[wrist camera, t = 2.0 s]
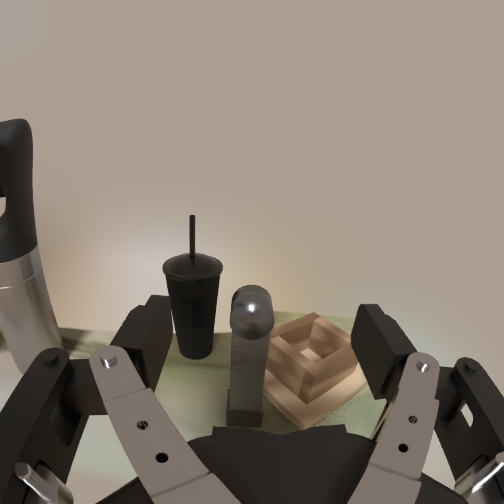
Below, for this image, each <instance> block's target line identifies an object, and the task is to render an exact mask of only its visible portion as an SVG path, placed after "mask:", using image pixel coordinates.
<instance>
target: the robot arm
mask: <svg viewBox="0 0 504 504" xmlns="http://www.w3.org/2000/svg"><path fill="white" fill-rule="evenodd" d="M32 168H33V141H32V132H31V128H30V125H29V124H28V122H27V121H26V120H25V119H13V120H8V121H4V122H0V198H1V197H6V208H5V212H4V213H3V215H2V216H1V217H0V329H1V331H2V334H3V336H4V339H5V341H6V343H7V346H8V348H9V350H10V352H11V355H12V357H13V359H14V361H15V363H16V365H17V367H18V369H19V370H20V371H21V372H22V373H23V374H24V375H23V377H22V378H21V380H20V381H19V383H18V385H17V386H16V388H15V389H14V391H13V392H12V394H11V396H10V397H9V399H8V401H7V402H6V404H5V406H4V407H3V409H2V411H1V412H0V504H73V496H72V493H71V491H70V490H69V488H68V487H67V486H66V481H67V478H68V474H69V472H70V469H71V466H72V463H73V460H74V457H75V454H76V451H77V448H78V445H79V442H80V439H81V437H82V434H83V431H84V428H85V426H86V423H87V420H88V418H89V415H109V418H110V420H111V422H112V425H113V427H114V429H115V431H116V434H117V436H118V438H119V440H120V442H121V444H122V446H123V448H124V450H125V452H126V454H127V456H128V458H129V460H130V462H131V464H132V466H133V468H134V470H135V471H136V473H137V475H138V476H137V477H136V478H135V479H133V480H132V481H130V482H129V483H127V484H126V485H124V486H123V487H121V488H120V489H118V490H117V491H115V492H113V493H112V494H110V495H109V496H107V497H106V498H104V499H103V500H101V501H99V502H97V503H96V504H504V397H503V396H502V394H501V393H500V391H499V390H498V388H497V387H496V386H495V384H494V383H493V381H492V380H491V378H490V377H489V376H488V374H487V373H486V371H485V370H484V369H483V367H482V366H481V365H480V364H479V363H478V362H477V361H475V360H473V359H471V358H466V357H463V358H460V359H458V360H457V362H456V364H455V366H454V368H451V367H441V366H439V363H438V361H437V360H436V359H435V358H434V357H432V356H431V355H429V354H426V353H421V352H417V351H416V349H415V347H414V346H413V344H412V343H411V342H410V340H409V339H408V337H407V336H406V335H405V333H404V332H403V330H402V329H401V328H400V326H399V325H398V323H397V322H396V321H395V320H394V319H392V318H391V317H390V316H388V315H385V314H384V312H383V311H382V310H381V308H380V307H379V306H378V304H361V305H360V306H359V308H358V311H357V315H356V318H355V322H354V326H353V329H352V333H351V346H352V349H353V351H354V353H355V355H356V358H357V360H358V362H359V364H360V367H361V369H362V371H363V373H364V376H365V378H366V380H367V383H368V385H369V387H370V390H371V392H372V394H373V397H374V399H375V400H377V399H384V398H386V400H387V402H386V404H385V406H384V408H383V410H382V412H381V415H380V417H379V419H378V421H377V423H376V426H375V428H374V430H373V432H372V434H371V436H370V438H366V437H364V436H361V435H357V434H352V433H347V431H346V427H345V424H340V425H331V426H319V427H312V428H308V429H305V430H301V431H297V432H293V433H289V434H285V435H277V434H272V433H267V432H262V431H257V430H253V429H248V428H231V427H215V426H213V431H212V435H210V436H204V437H200V438H196V439H193V440H190V441H188V442H186V441H185V439H184V438H183V437H182V435H181V434H180V432H179V431H178V430H177V428H176V427H175V425H174V424H173V422H172V421H171V419H170V418H169V416H168V415H167V413H166V412H165V410H164V409H163V407H162V406H161V404H160V402H159V401H158V399H157V398H156V396H155V394H154V392H155V389H156V386H157V383H158V380H159V377H160V374H161V371H162V368H163V365H164V362H165V359H166V356H167V353H168V350H169V347H170V344H171V341H172V336H173V325H172V315H171V302H170V297H169V296H160V295H151V296H150V298H149V299H148V301H147V303H146V304H145V306H143V305H138V306H137V307H136V308H134V309H133V310H131V311H130V313H129V314H128V316H127V317H126V320H125V321H124V322H123V324H122V326H121V327H120V329H119V330H118V332H117V333H116V335H115V337H114V338H113V340H112V342H111V343H110V345H109V346H104V347H101V348H98V349H97V350H95V351H94V352H93V353H92V354H91V356H90V358H89V359H72V360H70V359H69V356H68V354H67V352H66V350H65V346H64V344H63V341H62V338H61V335H60V332H59V328H58V325H57V322H56V319H55V316H54V312H53V309H52V305H51V301H50V298H49V294H48V290H47V286H46V282H45V277H44V273H43V268H42V264H41V259H40V253H39V248H38V241H37V235H36V227H35V217H34V207H33V188H32ZM465 404H467V405H468V407H469V409H470V411H471V412H472V414H473V423H472V426H471V427H469V425H468V423H467V421H466V419H465V417H464V415H463V414H462V412H461V409H462V408H463V406H464V405H465ZM433 430H435V432H436V434H437V437H438V439H439V441H440V444H441V446H442V448H443V451H444V453H445V456H446V458H447V461H448V463H449V466H450V468H451V471H452V473H453V476H454V479H455V482H456V483H455V486H454V491H453V490H451V489H450V488H448V487H446V486H444V485H443V484H441V483H439V482H438V481H436V480H434V479H432V478H431V477H429V476H428V475H426V474H424V473H422V469H423V466H424V463H425V460H426V456H427V453H428V449H429V445H430V442H431V438H432V434H433Z"/></svg>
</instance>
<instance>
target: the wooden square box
mask: <svg viewBox="0 0 504 504" xmlns="http://www.w3.org/2000/svg"><path fill="white" fill-rule="evenodd" d="M367 385H368V383H367V380H366V378H365V376H364V373H363V371H362V369H361V367H360V364H359V362H358V360H357V358H356V355H355V353H354V351H353V349H352V346H351V335H349V334H347V333H346V332H344V331H343V330H341V329H339V328H338V327H336V326H335V325H333V324H332V323H330V322H328V321H327V320H325V319H324V318H322V317H320V316H319V315H317V314H316V313H314V312H313V313H311V314H308V315H306V316H304V317H301V318H299V319H296V320H294V321H292V322H289V323H287V324H284V325H282V326H279V327H277V328H274V329H272V330H271V332H270V340H269V348H268V355H267V363H266V370H265V378H264V385H263V392H262V395H263V396H264V397H265V398H266V399H267V400H268V401H269V402H271V403H272V404H273V405H274V406H275V407H276V408H277V409H278V410H279V411H280V412H281V413H282V414H283V415H284V416H285V417H286V418H287V419H288V420H289V421H291V422H292V423H293V424H294V425H295V426H296V427H297V428H298V429H299V430H300V431H301V430H305V429H308V428H311V427H312V426H314V425H315V424H317V423H318V422H320V421H321V420H322V419H324V418H325V417H327V416H328V415H329V414H331V413H332V412H333V411H335V410H336V409H338V408H339V407H340V406H342V405H343V404H344V403H345V402H347V401H348V400H349V399H351V398H352V397H353V396H354V395H356V394H357V393H358V392H359V391H361V390H362V389H363V388H364V387H365V386H367Z"/></svg>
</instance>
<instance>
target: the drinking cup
mask: <svg viewBox="0 0 504 504" xmlns="http://www.w3.org/2000/svg"><path fill="white" fill-rule="evenodd" d="M222 271H223V265H222V263H221V262H220V261H219V260H218V259H216V258H214V257H211V256H207V255H204V254H200V253H195V215H190V253H185V254H182V255H178V256H175V257H172V258H170V259H168V260H167V261H166V262H165V263H164V264H163V272H164V274H165V275H166V281H167V288H168V293H169V297H170V302H171V310H172V315H173V321H174V326H175V331H176V336H177V340H178V345H179V350H180V353H181V354H182V355H183V356H184V357H186V358H189V359H202V358H205V357H207V356H208V355H209V354H210V353H211V351H212V342H213V333H214V323H215V314H216V305H217V296H218V288H219V280H220V274H221V273H222Z"/></svg>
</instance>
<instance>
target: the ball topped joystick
mask: <svg viewBox="0 0 504 504" xmlns="http://www.w3.org/2000/svg"><path fill="white" fill-rule="evenodd" d="M230 326H231V329H232V343H231V375H230V389H228V399H227V426H232V427H260V426H261V420H262V413H263V411H262V392H263V385H264V378H265V370H266V363H267V355H268V348H269V340H270V332H271V330H272V329H273V326H274V315H273V307H272V301H271V296H270V294H269V293H268V292H267V290H265V289H264V288H262V287H260V286H257V285H247V286H243V287H241V288H239V289H238V290H237V291H236V292H235V293H234V295H233V297H232V304H231V314H230Z"/></svg>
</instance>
